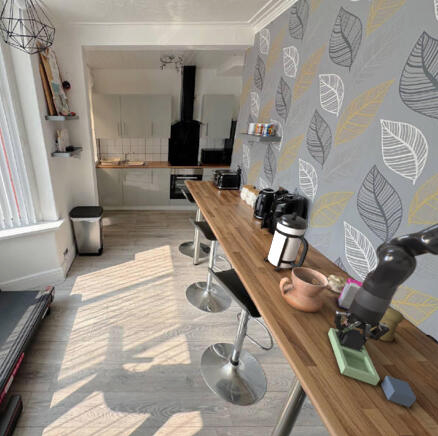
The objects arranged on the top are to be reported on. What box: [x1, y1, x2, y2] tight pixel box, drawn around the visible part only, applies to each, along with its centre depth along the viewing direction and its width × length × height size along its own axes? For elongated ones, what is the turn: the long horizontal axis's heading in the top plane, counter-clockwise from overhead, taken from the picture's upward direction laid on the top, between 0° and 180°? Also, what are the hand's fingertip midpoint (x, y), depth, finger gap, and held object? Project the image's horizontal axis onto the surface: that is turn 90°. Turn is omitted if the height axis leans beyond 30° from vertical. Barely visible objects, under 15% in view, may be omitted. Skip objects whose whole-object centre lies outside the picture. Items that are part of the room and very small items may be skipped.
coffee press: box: [263, 211, 309, 272], centre depth 117 cm, size 17×16×30 cm
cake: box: [326, 274, 348, 294], centre depth 108 cm, size 10×10×5 cm
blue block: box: [380, 375, 417, 408], centre depth 66 cm, size 5×5×4 cm
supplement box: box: [337, 277, 364, 311], centre depth 96 cm, size 6×6×12 cm
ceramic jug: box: [279, 266, 332, 314], centre depth 96 cm, size 18×14×14 cm
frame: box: [327, 327, 381, 386], centre depth 76 cm, size 8×16×3 cm, turn 157°
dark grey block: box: [342, 328, 365, 350], centre depth 78 cm, size 5×5×4 cm
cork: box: [371, 307, 405, 342], centre depth 83 cm, size 6×6×11 cm
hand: (349, 341), depth 79 cm, fingers closed on dark grey block, 4 cm apart
